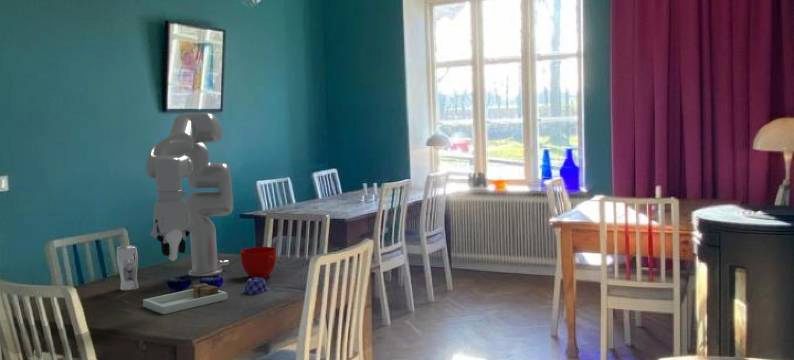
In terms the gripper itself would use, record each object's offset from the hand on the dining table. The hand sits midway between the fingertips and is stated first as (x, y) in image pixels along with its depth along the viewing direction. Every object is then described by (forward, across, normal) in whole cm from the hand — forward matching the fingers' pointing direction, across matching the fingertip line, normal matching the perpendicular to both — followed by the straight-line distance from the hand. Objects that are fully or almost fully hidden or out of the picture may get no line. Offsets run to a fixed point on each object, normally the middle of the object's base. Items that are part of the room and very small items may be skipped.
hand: (173, 253), depth 224 cm
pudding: (+18, -26, +5) cm, 32 cm away
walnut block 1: (+17, -10, -3) cm, 20 cm away
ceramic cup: (+18, -41, -14) cm, 47 cm away
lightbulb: (+2, 0, 0) cm, 2 cm away
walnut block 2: (+17, -10, +3) cm, 20 cm away
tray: (+17, -3, 0) cm, 18 cm away
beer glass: (+18, -1, -38) cm, 42 cm away
